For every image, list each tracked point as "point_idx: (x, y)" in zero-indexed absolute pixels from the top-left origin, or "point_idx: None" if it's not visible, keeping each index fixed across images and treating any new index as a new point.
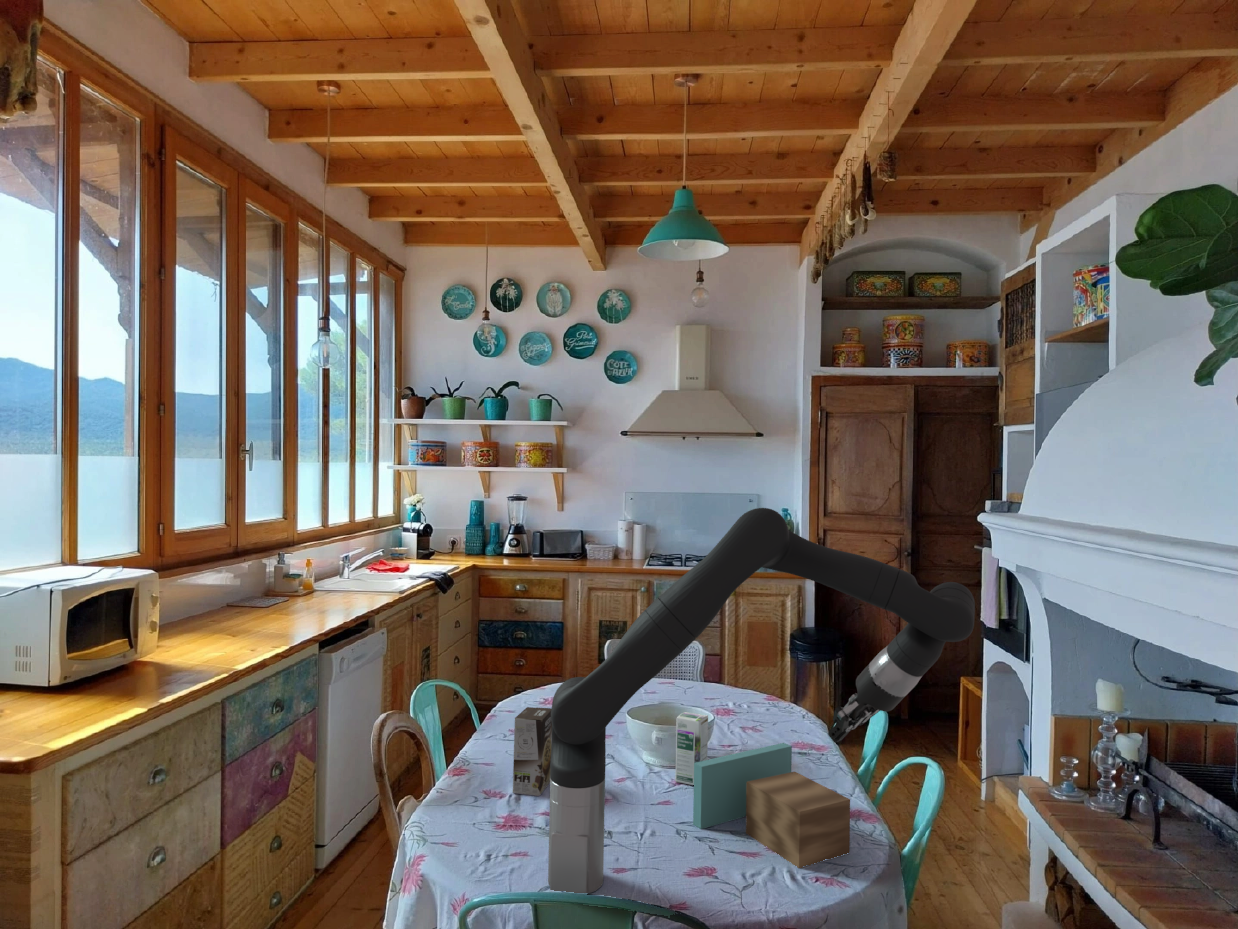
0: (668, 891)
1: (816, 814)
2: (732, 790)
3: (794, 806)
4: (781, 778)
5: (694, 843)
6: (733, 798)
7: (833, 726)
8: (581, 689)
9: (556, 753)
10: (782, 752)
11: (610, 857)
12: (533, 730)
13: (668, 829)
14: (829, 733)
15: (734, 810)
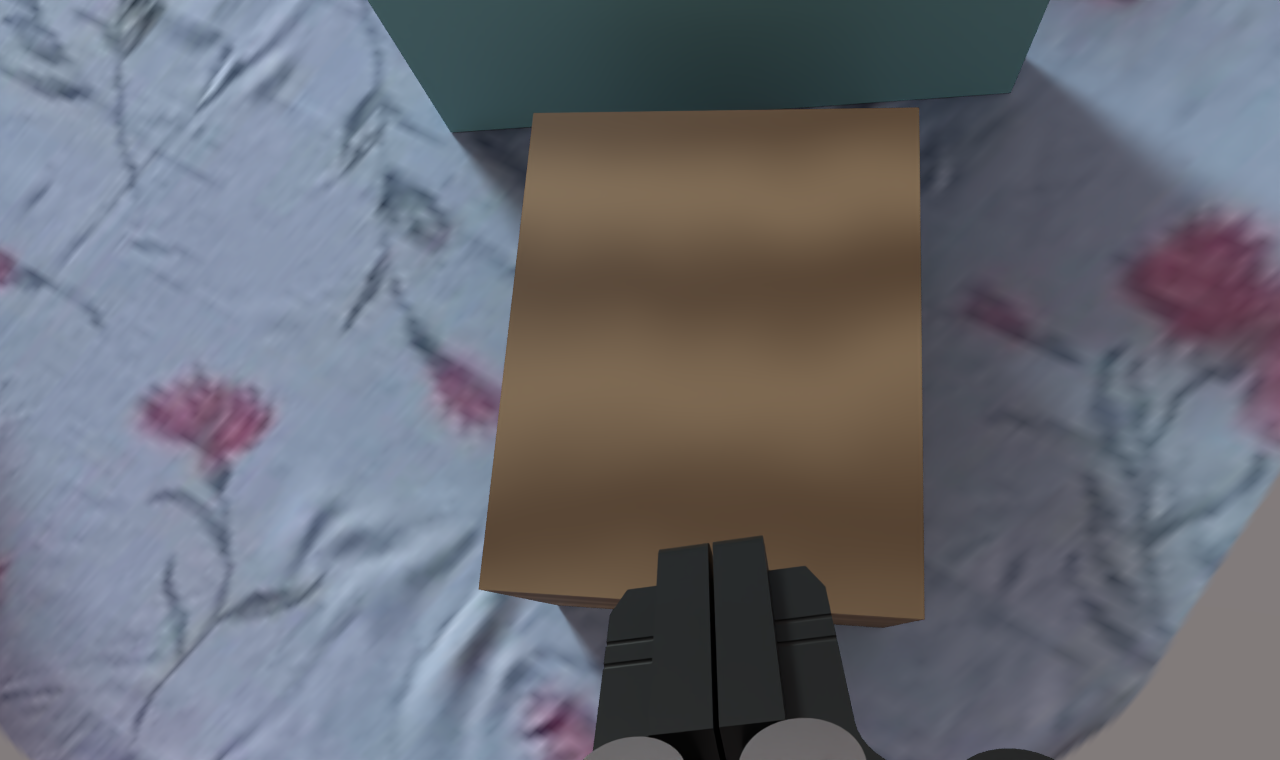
0: (11, 476)
1: None
2: (601, 34)
3: (508, 515)
4: (757, 158)
5: (346, 219)
6: (615, 60)
7: (656, 629)
8: None
9: None
10: None
11: (27, 175)
12: None
13: (344, 80)
14: (619, 606)
15: (632, 95)
